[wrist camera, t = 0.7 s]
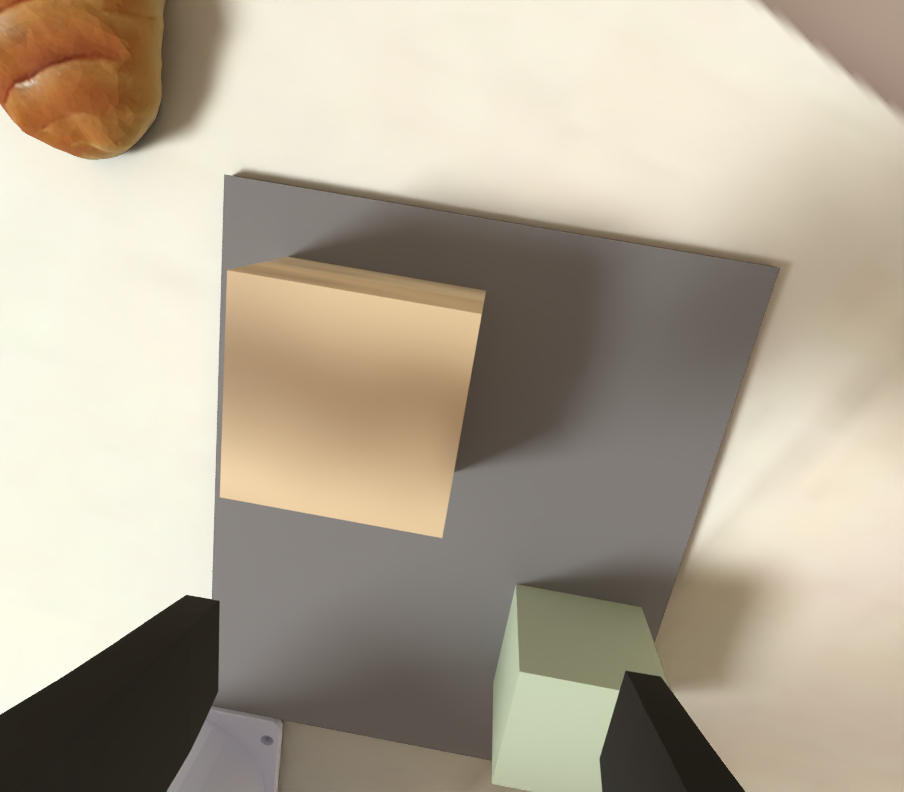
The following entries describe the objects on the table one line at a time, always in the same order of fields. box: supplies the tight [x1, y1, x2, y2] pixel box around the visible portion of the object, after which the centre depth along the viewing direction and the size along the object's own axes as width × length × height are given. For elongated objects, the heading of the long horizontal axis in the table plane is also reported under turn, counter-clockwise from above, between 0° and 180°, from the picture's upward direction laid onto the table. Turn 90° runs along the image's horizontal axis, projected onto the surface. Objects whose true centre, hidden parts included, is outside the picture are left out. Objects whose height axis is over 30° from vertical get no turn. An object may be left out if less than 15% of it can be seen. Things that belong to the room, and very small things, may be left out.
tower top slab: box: [220, 263, 484, 538], centre depth 15 cm, size 6×6×2 cm
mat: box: [212, 175, 780, 760], centre depth 20 cm, size 20×16×1 cm
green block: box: [492, 584, 671, 792], centre depth 19 cm, size 4×4×4 cm
